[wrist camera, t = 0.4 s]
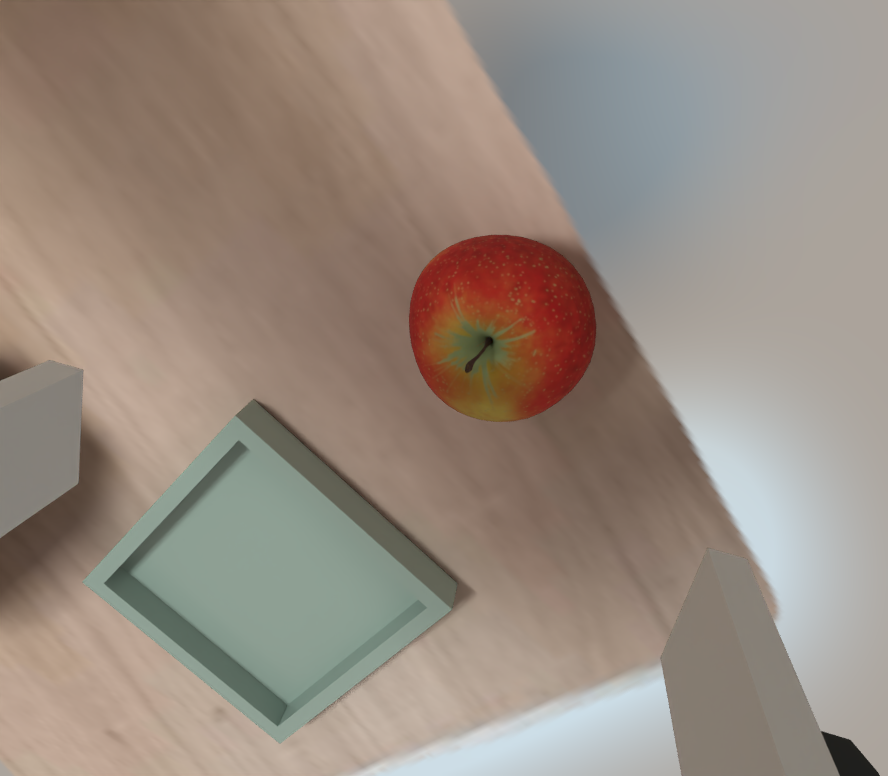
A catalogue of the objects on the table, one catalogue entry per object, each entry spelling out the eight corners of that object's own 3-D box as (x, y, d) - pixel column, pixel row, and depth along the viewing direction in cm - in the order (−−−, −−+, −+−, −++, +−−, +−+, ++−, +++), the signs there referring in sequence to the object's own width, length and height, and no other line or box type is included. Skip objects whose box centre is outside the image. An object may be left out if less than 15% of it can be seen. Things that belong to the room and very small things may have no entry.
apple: (598, 368, 36) (613, 452, 27) (443, 386, 37) (407, 471, 28) (580, 207, 33) (590, 238, 24) (414, 234, 35) (364, 273, 26)
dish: (105, 559, 45) (82, 582, 43) (253, 399, 39) (235, 415, 37) (293, 714, 47) (279, 743, 45) (457, 583, 42) (452, 609, 39)
